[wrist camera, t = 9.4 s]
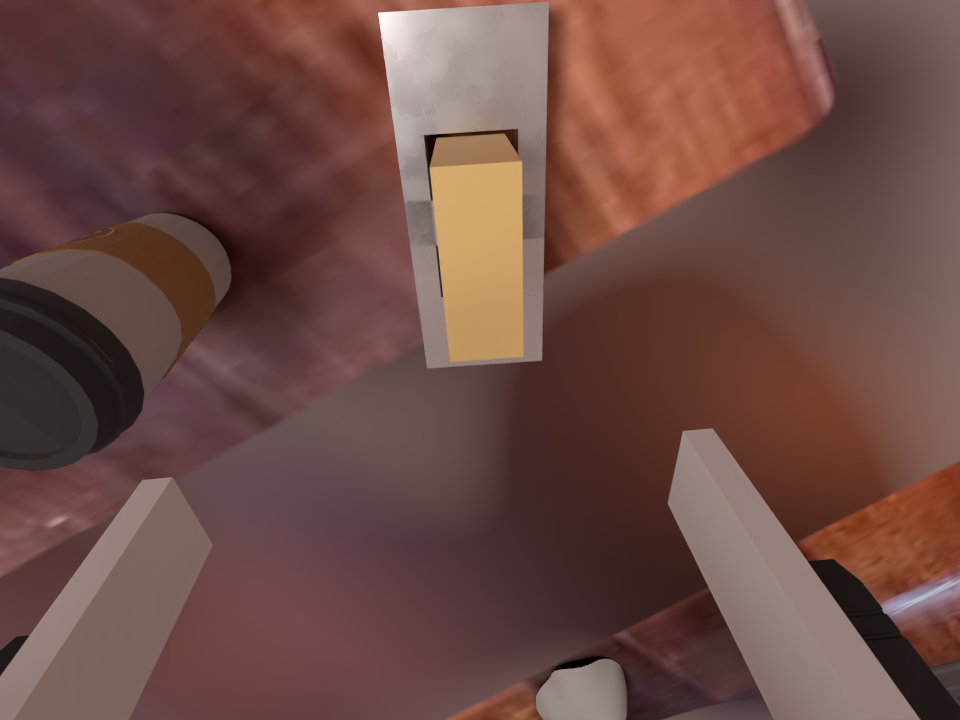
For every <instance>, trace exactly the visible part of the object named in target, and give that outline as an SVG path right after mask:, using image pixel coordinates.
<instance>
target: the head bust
mask: <svg viewBox="0 0 960 720" xmlns="http://www.w3.org/2000/svg"><path fill="white" fill-rule="evenodd" d="M536 708H537V711H538V713H539V714H540V716H541V718H542V719H543V720H626V717H627V689H626V682H625V678H624V674H623V671H622V668H621V666H620V665H619V664H618V663H617V662H615V661H613V660H611V659H600V660H598V661H596V662H594V663H592V664H589V665H587V666H583V667H579V668H573V669H562V670H557V671H554V672H553V673H552V674H551V677H550V678H549V679H548V680H547V682H546V683H545V684H544V685H543V686H542V687H541V688H540V690H539V692H538V693H537V695H536Z"/></svg>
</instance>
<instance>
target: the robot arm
mask: <svg viewBox="0 0 960 720" xmlns="http://www.w3.org/2000/svg"><path fill="white" fill-rule="evenodd" d="M668 505H669V507H670V509H671V511H672V513H673V515H674V517H675V519H676V521H677V523H678V525H679V527H680V530H681V531H682V534H683V535H684V537H685V540H686V542H687V544H688V546H689V548H690V550H691V552H692V554H693V556H694V558H695V560H696V562H697V564H698V566H699V568H700V570H701V572H702V574H703V576H704V578H705V580H706V582H707V584H708V586H709V588H710V590H711V593H712V595H713V597H714V599H715V601H716V603H717V605H718V607H719V609H720V611H721V613H722V615H723V617H724V619H725V621H726V623H727V625H728V627H729V629H730V631H731V633H732V635H733V637H734V639H735V641H736V643H737V645H738V647H739V649H740V651H741V653H742V655H743V658H744V660H745V662H746V664H747V666H748V668H749V670H750V672H751V674H752V676H753V678H754V680H755V682H756V684H757V686H758V688H759V690H760V692H761V694H762V696H763V698H764V700H765V702H766V704H767V706H768V708H769V710H770V712H771V714H772V716H773V718H774V720H960V706H959V705H958V704H957V702H956V701H955V700H954V699H953V697H952V696H951V695H950V694H949V692H948V691H947V690H946V689H945V687H944V686H943V685H942V683H941V682H940V681H939V680H938V678H937V677H936V676H935V675H934V673H933V672H932V671H931V669H930V668H929V667H928V666H927V664H926V663H925V662H924V661H923V659H922V658H921V657H920V656H919V654H918V653H917V652H916V650H915V649H914V648H913V647H912V645H911V644H910V643H909V642H908V640H907V639H906V638H905V637H902V636H901V634H900V630H899V629H898V628H897V626H896V625H895V624H894V623H893V621H892V620H891V619H890V617H889V616H888V615H887V614H884V613H883V611H882V607H881V606H880V605H879V603H878V602H877V601H876V600H875V598H874V597H873V596H872V595H871V593H870V592H869V591H868V590H867V588H866V587H865V586H864V584H863V583H862V582H861V581H860V580H859V579H857V578H856V577H855V576H854V575H852V574H851V573H850V572H849V571H847V570H846V569H845V568H844V567H842V566H841V565H840V564H838V563H837V562H836V561H835V560H833V559H828V560H817V561H807V560H806V559H805V557H804V556H803V555H802V553H801V552H800V550H799V549H798V548H797V546H796V545H795V543H794V542H793V541H792V539H791V538H790V536H789V535H788V534H787V532H786V531H785V529H784V528H783V527H782V525H781V524H780V522H779V521H778V520H777V518H776V517H775V515H774V514H773V513H772V511H771V510H770V508H769V507H768V505H767V504H766V503H765V501H764V500H763V498H762V497H761V496H760V494H759V493H758V491H757V490H756V489H755V487H754V486H753V484H752V483H751V482H750V480H749V479H748V477H747V476H746V475H745V473H744V472H743V470H742V469H741V468H740V466H739V465H738V463H737V462H736V461H735V459H734V458H733V456H732V455H731V454H730V452H729V451H728V449H727V448H726V447H725V445H724V444H723V442H722V441H721V440H720V438H719V437H718V435H717V434H716V433H715V431H714V430H713V429H700V430H689V431H683V434H682V439H681V443H680V448H679V453H678V457H677V462H676V467H675V472H674V476H673V481H672V486H671V490H670V495H669V499H668ZM212 546H213V545H212V543H211V541H210V540H209V538H208V536H207V535H206V533H205V531H204V530H203V528H202V526H201V524H200V523H199V521H198V520H197V518H196V516H195V514H194V513H193V511H192V509H191V508H190V506H189V504H188V503H187V501H186V499H185V498H184V496H183V495H182V492H181V491H180V489H179V488H178V486H177V484H176V482H175V481H174V479H173V477H170V478H159V479H148V480H142V481H141V483H140V484H139V485H138V487H137V488H136V489H135V491H134V492H133V494H132V495H131V496H130V498H129V499H128V501H127V502H126V503H125V505H124V506H123V507H122V509H121V510H120V512H119V513H118V514H117V516H116V517H115V519H114V520H113V521H112V523H111V524H110V525H109V527H108V528H107V530H106V531H105V532H104V534H103V535H102V537H101V538H100V540H99V541H98V542H97V543H96V545H95V546H94V548H93V549H92V550H91V552H90V553H89V554H88V556H87V557H86V559H85V560H84V561H83V563H82V564H81V565H80V567H79V568H78V570H77V571H76V572H75V574H74V575H73V577H72V578H71V579H70V581H69V582H68V583H67V585H66V586H65V588H64V589H63V591H62V592H61V593H60V595H59V596H58V597H57V599H56V600H55V602H54V603H53V604H52V606H51V607H50V608H49V610H48V611H47V612H46V614H45V615H44V617H43V618H42V620H41V621H40V622H39V624H38V625H37V627H36V628H35V629H34V630H33V632H32V633H31V635H30V636H19V637H15V638H14V639H13V640H12V641H11V642H10V643H9V644H8V645H6V646H5V647H4V648H3V649H2V650H1V651H0V720H129V718H130V716H131V714H132V712H133V710H134V707H135V706H136V703H137V701H138V699H139V697H140V695H141V693H142V691H143V689H144V687H145V685H146V683H147V681H148V679H149V676H150V674H151V672H152V670H153V668H154V666H155V664H156V662H157V660H158V658H159V656H160V653H161V652H162V650H163V647H164V645H165V643H166V641H167V639H168V637H169V635H170V633H171V631H172V629H173V627H174V625H175V623H176V620H177V618H178V616H179V614H180V612H181V610H182V608H183V606H184V604H185V602H186V600H187V598H188V596H189V594H190V592H191V589H192V587H193V585H194V583H195V581H196V579H197V577H198V575H199V573H200V571H201V569H202V566H203V564H204V562H205V560H206V558H207V556H208V554H209V552H210V550H211V548H212Z"/></svg>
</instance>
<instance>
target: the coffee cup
mask: <svg viewBox="0 0 960 720" xmlns="http://www.w3.org/2000/svg"><path fill="white" fill-rule="evenodd" d="M230 282H231V266H230V262H229V259H228V256H227V253H226V251H225V249H224V248H223V246H222V245H221V243H220V242H219V240H218V239H217V238H216V237H215V236H214V235H213V234H212V233H211V232H210V231H209V230H207V229H206V228H204V227H203V226H201V225H200V224H198V223H197V222H194V221H192V220H190V219H187V218H185V217H182V216H179V215H174V214H168V213H155V214H149V215H146V216H143V217H141V218H138V219H135V220H132V221H130V222H122V223H119V224H117V225H114V226H111V227H108V228H106V229H103V230H100V231H97V232H94V233H92V234H89V235H86V236H83V237H81V238H78V239H75V240H72V241H70V242H67V243H64V244H61V245H58V246H56V247H53V248H50V249H47V250H45V251H42V252H39V253H36V254H34V255H31V256H28V257H26V258H23V259H21V260H18V261H15V262H14V263H13V264H12V265H10V266H8V267H5V268H2V269H0V466H2V467H6V468H13V469H23V470H47V469H57V468H60V467H63V466H66V465H69V464H73V463H75V462H76V461H78V460H79V459H81V458H82V457H84V456H85V455H88V454H91V453H95V452H98V451H100V450H101V449H103V448H104V447H106V446H107V445H109V444H110V443H111V442H113V441H114V440H115V439H116V438H118V436H119V435H120V433H122V432H123V431H124V430H126V429H127V428H129V427H130V426H132V425H133V423H134V422H135V420H136V419H137V417H138V416H139V414H140V412H141V411H142V406H143V402H144V401H145V400H146V398H147V397H148V396H149V394H150V393H151V392H152V390H153V389H154V388H155V387H156V385H157V384H158V383H159V381H160V380H162V379H163V378H164V377H165V376H166V375H167V374H168V373H169V371H170V370H171V369H172V367H173V366H174V365H175V363H176V362H177V361H178V359H179V358H180V357H181V355H182V354H183V353H184V351H185V350H186V349H187V347H188V346H189V345H190V343H191V342H192V341H193V339H194V338H195V337H196V335H197V334H198V333H199V331H200V330H201V329H202V327H203V326H204V325H205V323H206V322H207V321H208V319H209V318H210V316H211V315H212V313H213V312H214V310H215V308H216V306H217V305H218V304H219V302H220V301H221V300H222V298H223V297H224V296H225V294H226V293H227V291H228V290H229V287H230Z"/></svg>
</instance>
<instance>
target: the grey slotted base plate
mask: <svg viewBox="0 0 960 720" xmlns="http://www.w3.org/2000/svg"><path fill="white" fill-rule="evenodd" d="M378 14H379V22H380V29H381V36H382V43H383V51H384V58H385V65H386V72H387V80H388V87H389V94H390V102H391V109H392V116H393V123H394V131H395V138H396V145H397V152H398V160H399V167H400V174H401V182H402V189H403V196H404V203H405V211H406V218H407V225H408V232H409V240H410V247H411V254H412V262H413V269H414V276H415V283H416V291H417V298H418V305H419V312H420V320H421V327H422V334H423V342H424V348H425V356H426V363H427V368H438V367H439V368H440V367H453V366H469V365H483V364H497V363H512V362H527V361H540V360H541V361H542V334H543V332H542V331H543V282H544V230H545V178H546V126H547V74H548V22H549V2H539V3H524V4H508V5H492V6H477V7H461V8H445V9H430V10H414V11H398V12H383V13H378ZM507 129H513V131H514V149H515V151H516V152H517V154H518V156H519V157H520V159H521V160H522V221H523V357H514V358H500V359H485V360H471V361H456V362H450V356H449V347H448V337H447V328H446V318H445V309H444V299H443V290H442V280H441V271H440V261H439V252H438V242H437V233H436V223H435V214H434V204H433V195H432V185H431V176H430V160H429V151H428V141H427V135H431V134H446V133H462V132H477V131H492V130H507Z"/></svg>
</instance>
